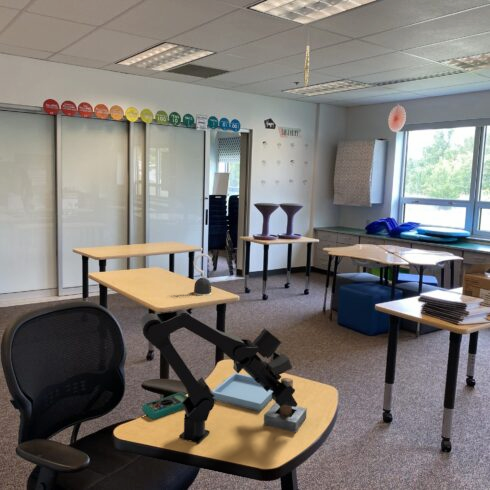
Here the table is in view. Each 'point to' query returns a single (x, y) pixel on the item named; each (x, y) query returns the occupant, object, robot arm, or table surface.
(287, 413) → the walnut dowel
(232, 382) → the slate-blue tray
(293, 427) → the grey socket block
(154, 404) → the digital multimeter
